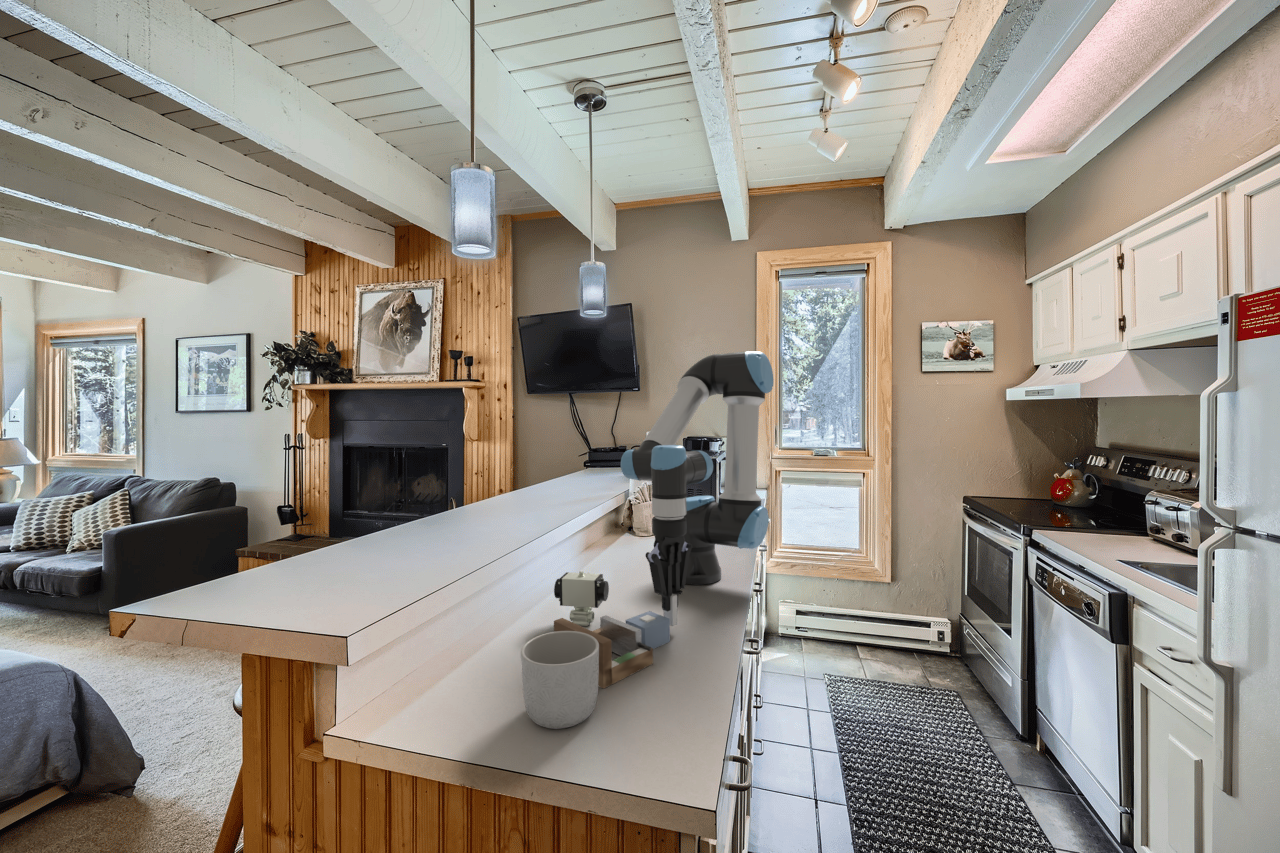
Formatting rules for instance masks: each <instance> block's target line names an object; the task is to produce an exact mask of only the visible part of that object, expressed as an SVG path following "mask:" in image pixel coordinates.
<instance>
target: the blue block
mask: <svg viewBox="0 0 1280 853" xmlns="http://www.w3.org/2000/svg"><path fill="white" fill-rule="evenodd" d="M625 623H626V624H629V625H631V626H634V627H636V628H638V629H641V643H642V644H645V645H647V646H649V647H651V648H653V650H654V649H656V648H658V647H661V646H663V645H665V644H668V643H670V642H671V637H670V636H671V633H670V632H671V630H670V628H671V627H670V619H669V618H667V617H664V615H662V614H658V613H656V612H653V611H651V610H648V611H646V612H643V613H639V614H637V615H635V616H633V617H630V618H627V619H625Z"/></svg>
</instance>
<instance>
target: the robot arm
mask: <svg viewBox="0 0 1280 853" xmlns="http://www.w3.org/2000/svg"><path fill="white" fill-rule="evenodd" d="M676 386H677V387H676V388H677V390H676V391H675V393H674V394H673V396H672V398H670V401H669V402H668V403H667V405H666V406H665V408H664V409H663V411H662V412H661V414H660V416H659V417H658V419H657V420H656V422H655V423H654V425H652V427H651V429H650V430H649V432H648V434H647V435H646V436H645V438H644V439H643V441H642V443H641V444H640V446H639V447H638V448H637V449H636V448H632V449H628V450H625V452H623V454H622V456H621V459H620V470H621V472H622V474H623V476H624V477H625V478H627V479H630V480H634V481H635V480H636V481H639V482H640V481H645V482H646V481H647V482H651V514H652V515H653V517H652V518H651V531H652V534H653V536H654V542H653V549H652V550H651V551H648V552H646V553H645V556H644V557H645V558H646V560H647V562H648V566H649V570H650V575H651V580H652V586H653V590H654V594H657V595H659V596H661V609H662V611H663V616H664V617H667V618H669V619H670V626H671V627H675V626H678V607H679V595H681V596H682V594H683V589H685V587H686V585H691V586H692V585H696V586H697V585H701V586H702V585H709V584H713V583H717V582H719V581H720V580H721V579H722V568H721V566H720V563H719V560H718V556H717V553H716V549H715V548H716V547H715V546H716V545H719V546H726V547H733V548H738V549H741V550H742V549H749V550H753V549H756V548H759V546H760V545H762V543H763V541H764V540H765V537H766V535H767V531H768V527H769V523H770V522H769V517H770V516H769V514H768V513H769V511H768V509H767V508H766V507H765V506H763V505H762V498H761V497H760V496H759V495H758V494H757V477H758V476H757V474H758V473H757V471H758V470H757V469H758V448H759V447H758V445H759V444H758V442H759V421H760V420H759V419H760V418H759V416H760V405H762V404H763V403H764V402H765V401H766V394H769V393H771V392H772V390H773V387H774V371H773V368H772V365H771V362H770V360H769V357H768V355H766V353H764V352H762V351H751V350H750V351H749V350H747V351H739V352H730V353H729V352H728V353H714V354H711V355H708V356H705V357H703V358H701V359H700V360H698V361H697V362H695V363H694V364H693V365H692V366H691V367H690V368H688V369H687V370H686V371H685V372H684V374H683V375H682V376H681V377H680V379H679V381H678V382H677V385H676ZM714 395H715V396H716V395H722V400H723V401H724V403H725V404H726V405H727V417H726V418H727V421H726V442H725V467H724V468H725V469H724V490H723V492H722V493H720V495H719V496H718V499H717V500H718V502H716V499H715V496H713V495H696V496H690V497H689V496H688V497H687V486H690V485H693V484H700V483H702V482H705V481H706V480H708V479H709V478H710V477H711V475H712V474H713V471H714V462H713V459H712V458H711V456H710V455H709V454H708V453H707V452H706V451H703V450H695V449H693V450H691V451H689V450H688V451H687V450H686V448H685V446H683V445H679V444H677V443H678V442H679V440H680V438H681V437H682V435H683V433H684V432H685V430H686V428H687V426H688V425H689V424H690V421H691V420H692V419H693V417H694V415H695V413H696V412H697V410H698V408H699V407H700V405H703V404H704V403H705V402H707V401H708V399H709V397H711V396H714Z"/></svg>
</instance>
